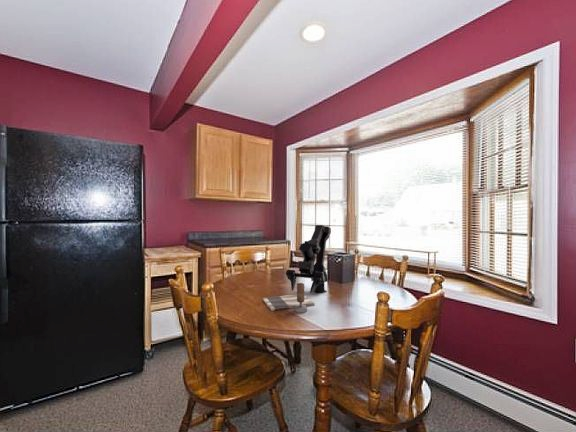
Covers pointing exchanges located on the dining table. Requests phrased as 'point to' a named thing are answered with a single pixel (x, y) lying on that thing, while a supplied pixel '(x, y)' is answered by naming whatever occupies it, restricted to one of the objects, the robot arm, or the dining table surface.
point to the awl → (300, 299)
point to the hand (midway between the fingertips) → (301, 291)
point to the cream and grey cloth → (285, 302)
